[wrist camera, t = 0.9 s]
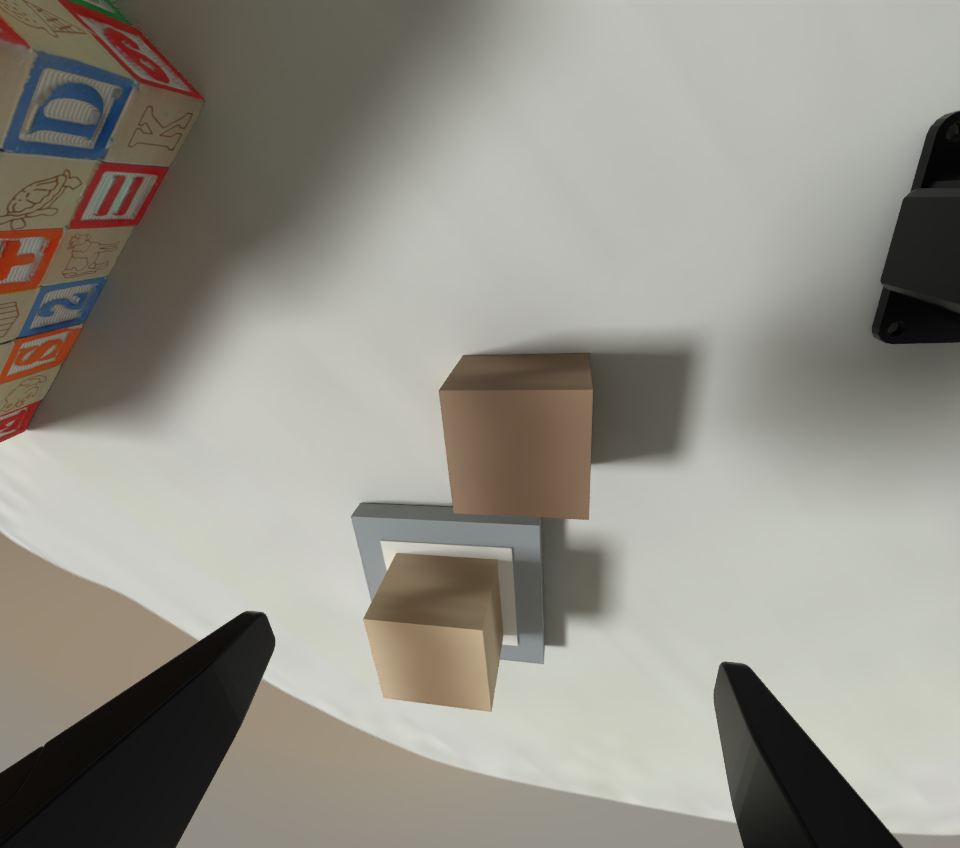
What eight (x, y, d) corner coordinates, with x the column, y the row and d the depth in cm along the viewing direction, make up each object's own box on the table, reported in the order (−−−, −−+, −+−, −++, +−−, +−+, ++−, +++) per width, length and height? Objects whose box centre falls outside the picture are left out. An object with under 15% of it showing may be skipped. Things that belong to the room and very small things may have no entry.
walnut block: (588, 352, 18) (592, 389, 14) (586, 463, 20) (588, 519, 17) (463, 354, 19) (438, 390, 15) (473, 460, 21) (453, 513, 17)
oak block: (497, 559, 22) (482, 630, 18) (503, 635, 24) (491, 711, 20) (396, 552, 22) (363, 619, 19) (410, 626, 25) (383, 698, 21)
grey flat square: (541, 510, 21) (539, 526, 20) (544, 646, 25) (543, 665, 24) (360, 503, 23) (350, 517, 22) (389, 630, 27) (381, 648, 26)
